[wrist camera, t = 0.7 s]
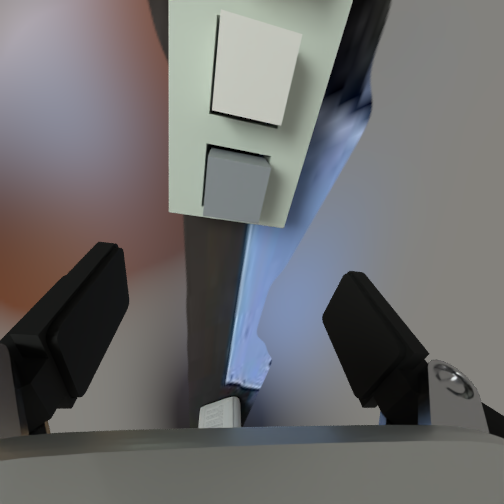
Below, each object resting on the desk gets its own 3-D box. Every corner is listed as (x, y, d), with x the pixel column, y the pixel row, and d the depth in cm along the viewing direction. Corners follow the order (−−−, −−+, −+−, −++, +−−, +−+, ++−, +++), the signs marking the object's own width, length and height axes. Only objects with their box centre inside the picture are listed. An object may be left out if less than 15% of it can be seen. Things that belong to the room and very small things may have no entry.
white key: (222, 27, 16) (220, 9, 13) (288, 47, 17) (302, 34, 14) (215, 108, 19) (212, 110, 16) (272, 122, 20) (281, 126, 16)
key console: (185, -187, 14) (168, -298, 10) (363, -108, 16) (405, -173, 12) (177, 196, 26) (168, 212, 22) (276, 211, 28) (283, 228, 25)
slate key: (211, 147, 20) (208, 156, 17) (264, 158, 21) (271, 167, 18) (206, 199, 23) (202, 215, 20) (254, 207, 24) (258, 223, 21)
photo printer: (207, 412, 57) (203, 480, 47) (197, 406, 55) (190, 476, 45) (242, 400, 55) (245, 468, 45) (233, 393, 53) (234, 463, 43)
